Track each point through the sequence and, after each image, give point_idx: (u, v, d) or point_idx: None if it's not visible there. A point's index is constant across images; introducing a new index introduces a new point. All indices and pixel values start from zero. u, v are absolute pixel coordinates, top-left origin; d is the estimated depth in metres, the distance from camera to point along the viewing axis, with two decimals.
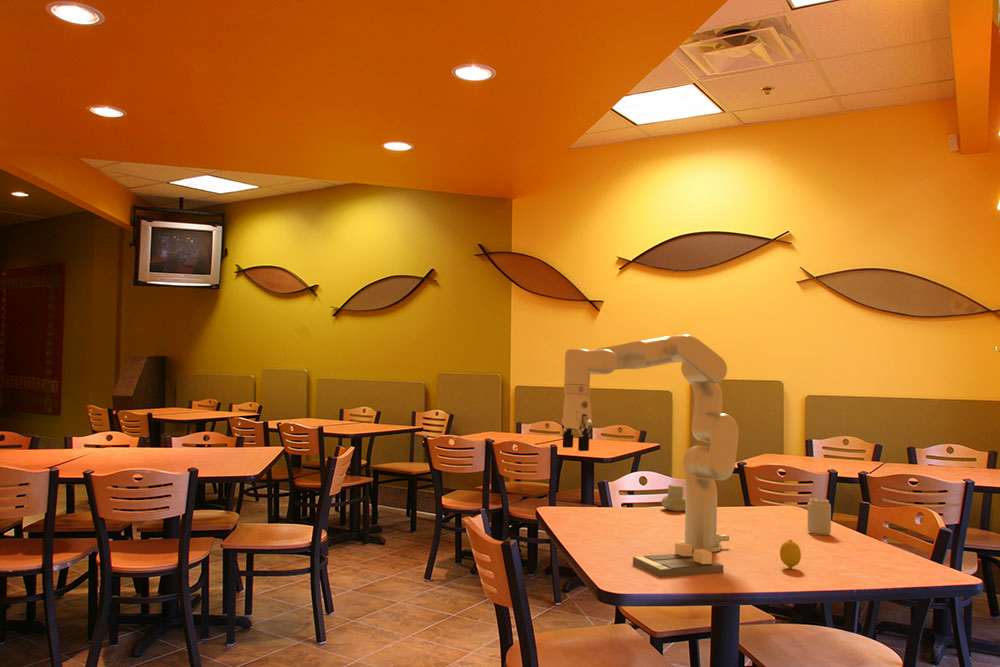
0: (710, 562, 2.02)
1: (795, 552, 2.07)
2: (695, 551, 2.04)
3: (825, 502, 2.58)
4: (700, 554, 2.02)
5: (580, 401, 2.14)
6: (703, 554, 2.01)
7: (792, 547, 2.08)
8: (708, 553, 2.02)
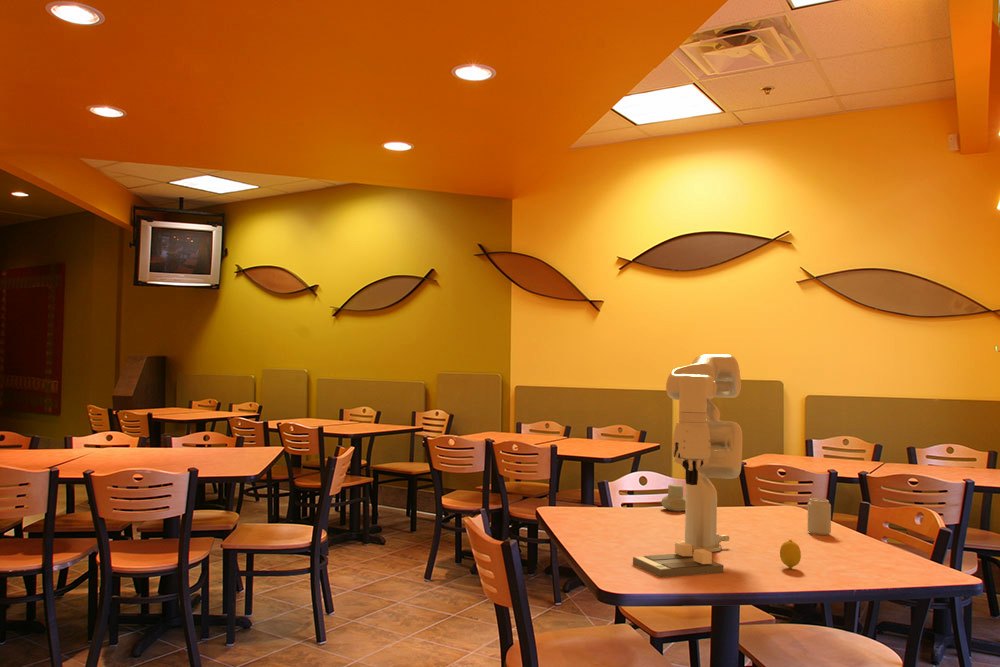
0: (710, 562, 2.02)
1: (795, 552, 2.07)
2: (695, 551, 2.04)
3: (825, 502, 2.58)
4: (700, 554, 2.02)
5: None
6: (703, 554, 2.01)
7: (792, 547, 2.08)
8: (708, 553, 2.02)
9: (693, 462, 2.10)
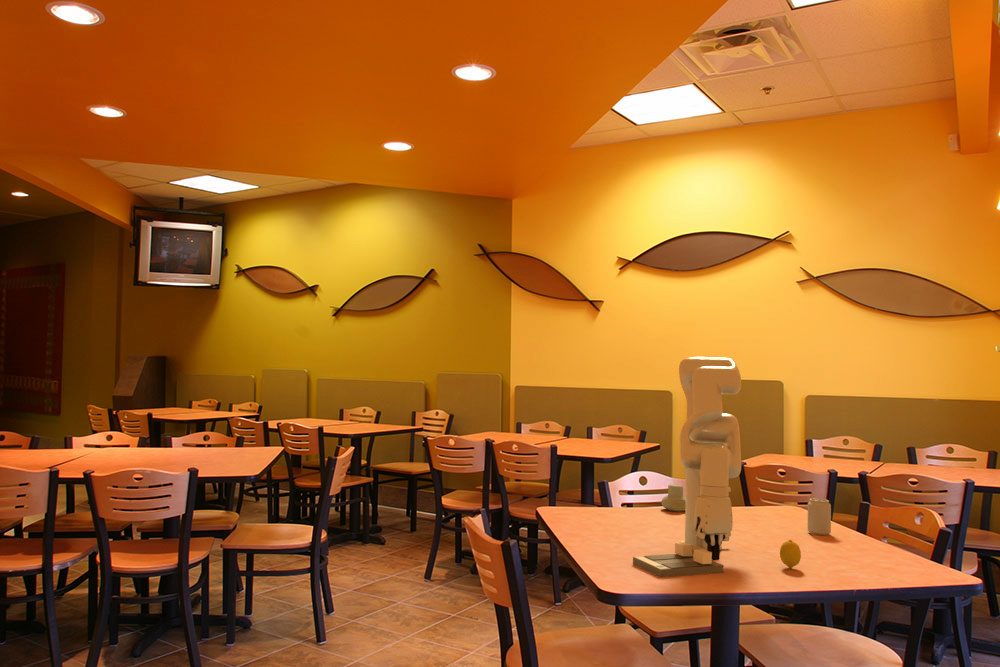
0: (710, 562, 2.02)
1: (795, 552, 2.07)
2: (695, 551, 2.04)
3: (825, 502, 2.58)
4: (700, 554, 2.02)
5: None
6: (703, 554, 2.01)
7: (792, 547, 2.08)
8: (708, 553, 2.02)
9: (715, 536, 2.06)
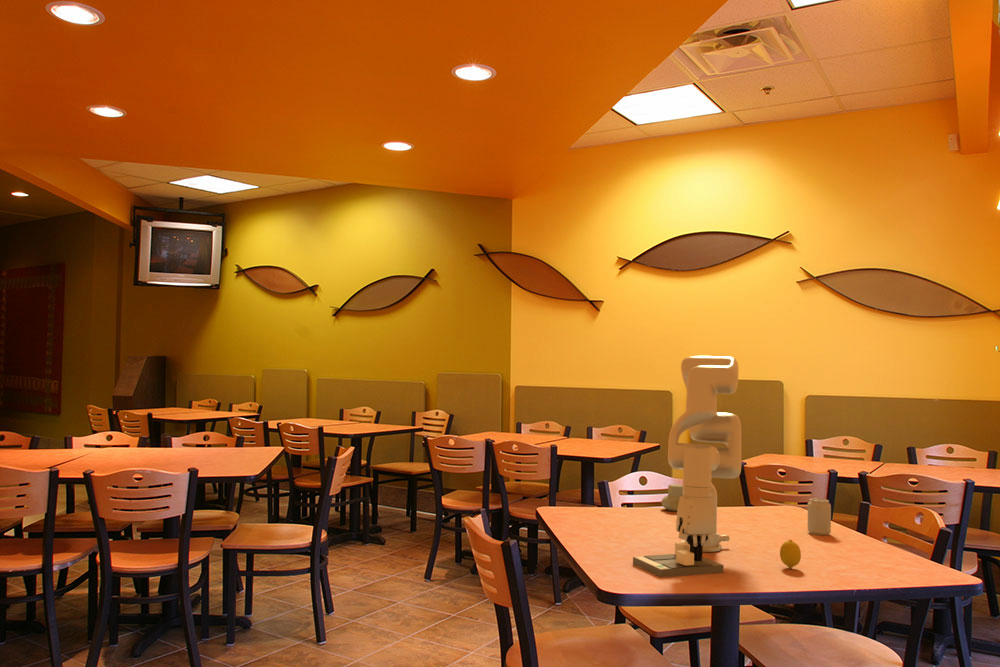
0: (692, 563, 2.00)
1: (795, 552, 2.07)
2: (677, 552, 2.02)
3: (825, 502, 2.58)
4: (682, 555, 2.00)
5: None
6: (685, 555, 1.99)
7: (792, 547, 2.08)
8: (690, 554, 2.00)
9: (697, 537, 2.04)
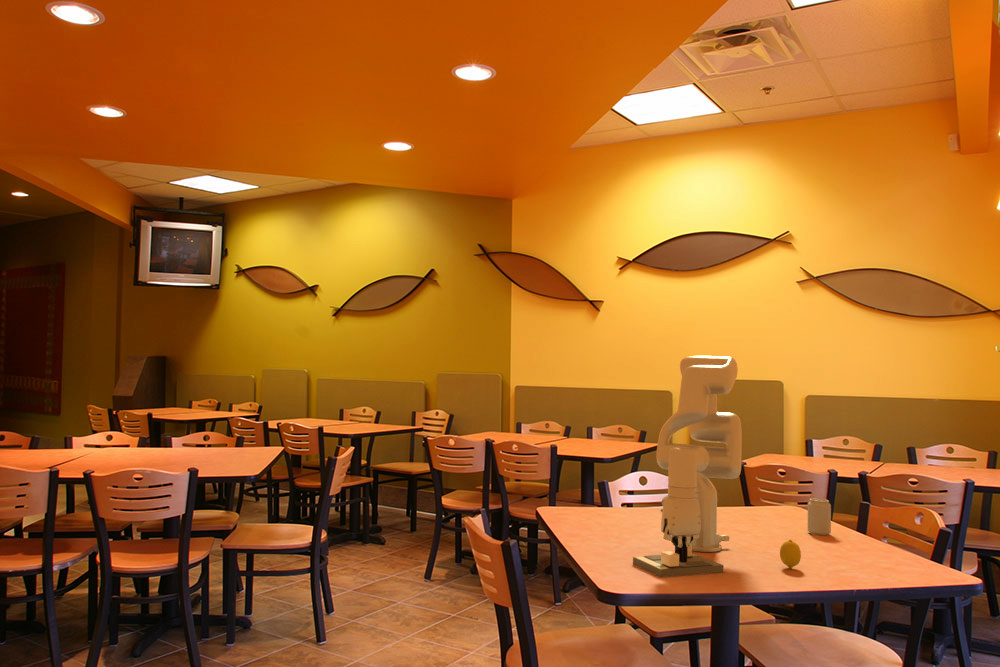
0: (677, 564, 1.98)
1: (795, 552, 2.07)
2: (662, 553, 2.01)
3: (825, 502, 2.58)
4: (667, 556, 1.98)
5: None
6: (670, 556, 1.98)
7: (792, 547, 2.08)
8: (675, 555, 1.98)
9: (683, 537, 2.03)
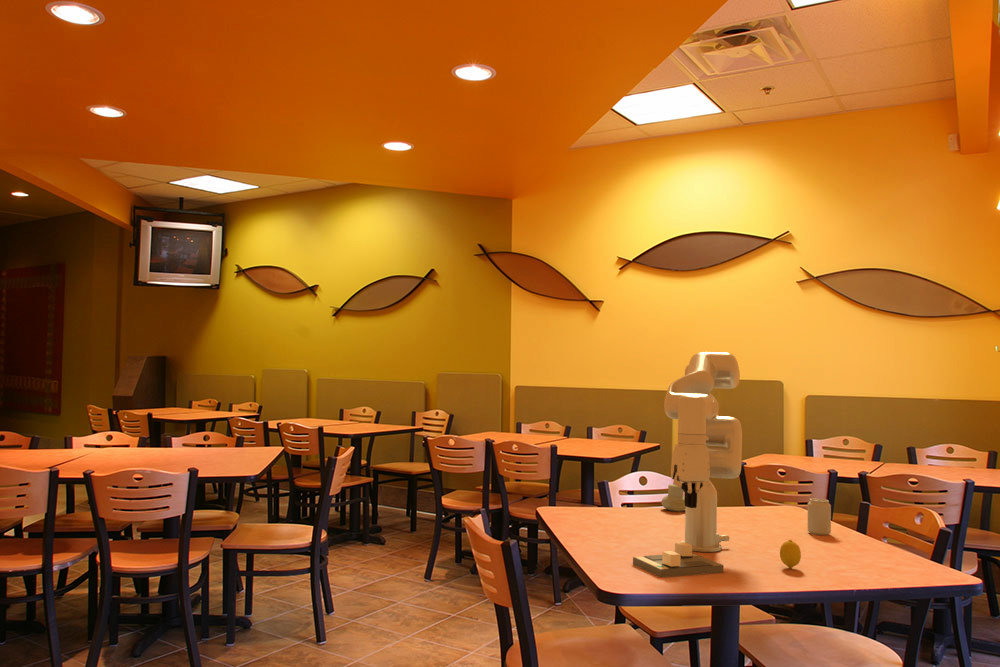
0: (679, 564, 1.99)
1: (795, 552, 2.07)
2: (664, 553, 2.01)
3: (825, 502, 2.58)
4: (669, 556, 1.99)
5: None
6: (671, 556, 1.98)
7: (792, 547, 2.08)
8: (677, 555, 1.99)
9: (692, 484, 2.06)
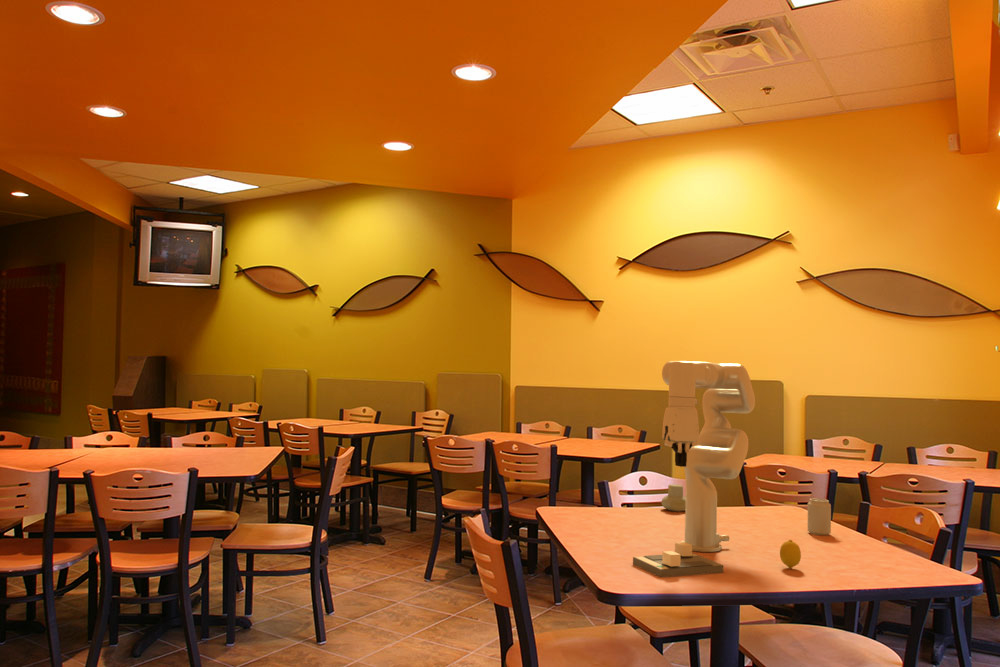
0: (679, 564, 1.99)
1: (795, 552, 2.07)
2: (664, 553, 2.01)
3: (825, 502, 2.58)
4: (669, 556, 1.99)
5: None
6: (671, 556, 1.98)
7: (792, 547, 2.08)
8: (677, 555, 1.99)
9: (682, 445, 2.19)
